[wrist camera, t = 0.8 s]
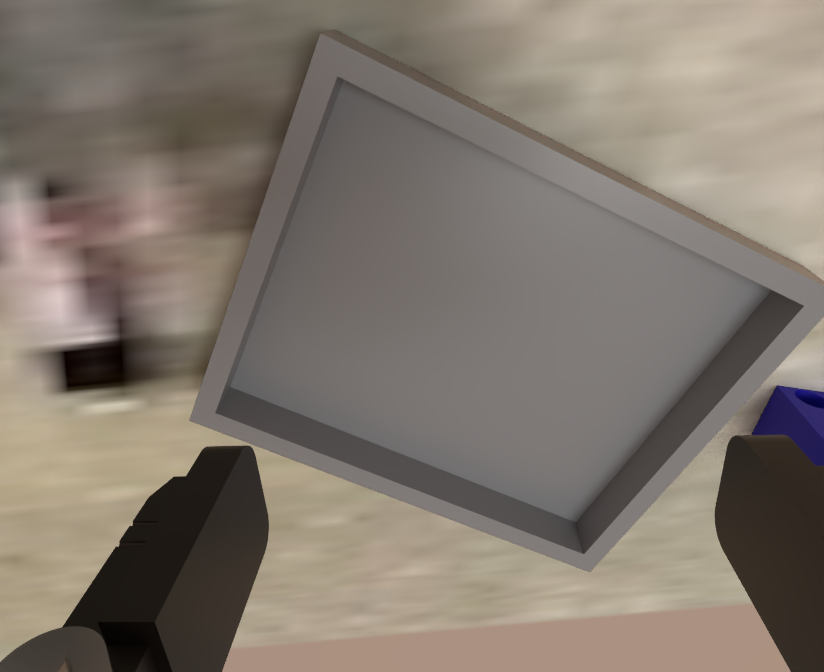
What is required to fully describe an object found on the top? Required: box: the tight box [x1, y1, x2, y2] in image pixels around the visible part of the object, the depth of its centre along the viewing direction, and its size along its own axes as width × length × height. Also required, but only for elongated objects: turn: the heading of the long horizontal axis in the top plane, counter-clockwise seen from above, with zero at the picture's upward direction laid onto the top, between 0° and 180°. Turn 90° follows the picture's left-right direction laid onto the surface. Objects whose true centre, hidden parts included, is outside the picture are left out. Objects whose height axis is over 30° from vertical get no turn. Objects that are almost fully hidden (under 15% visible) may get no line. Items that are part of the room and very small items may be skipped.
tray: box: [189, 30, 824, 572], centre depth 27 cm, size 18×22×3 cm
